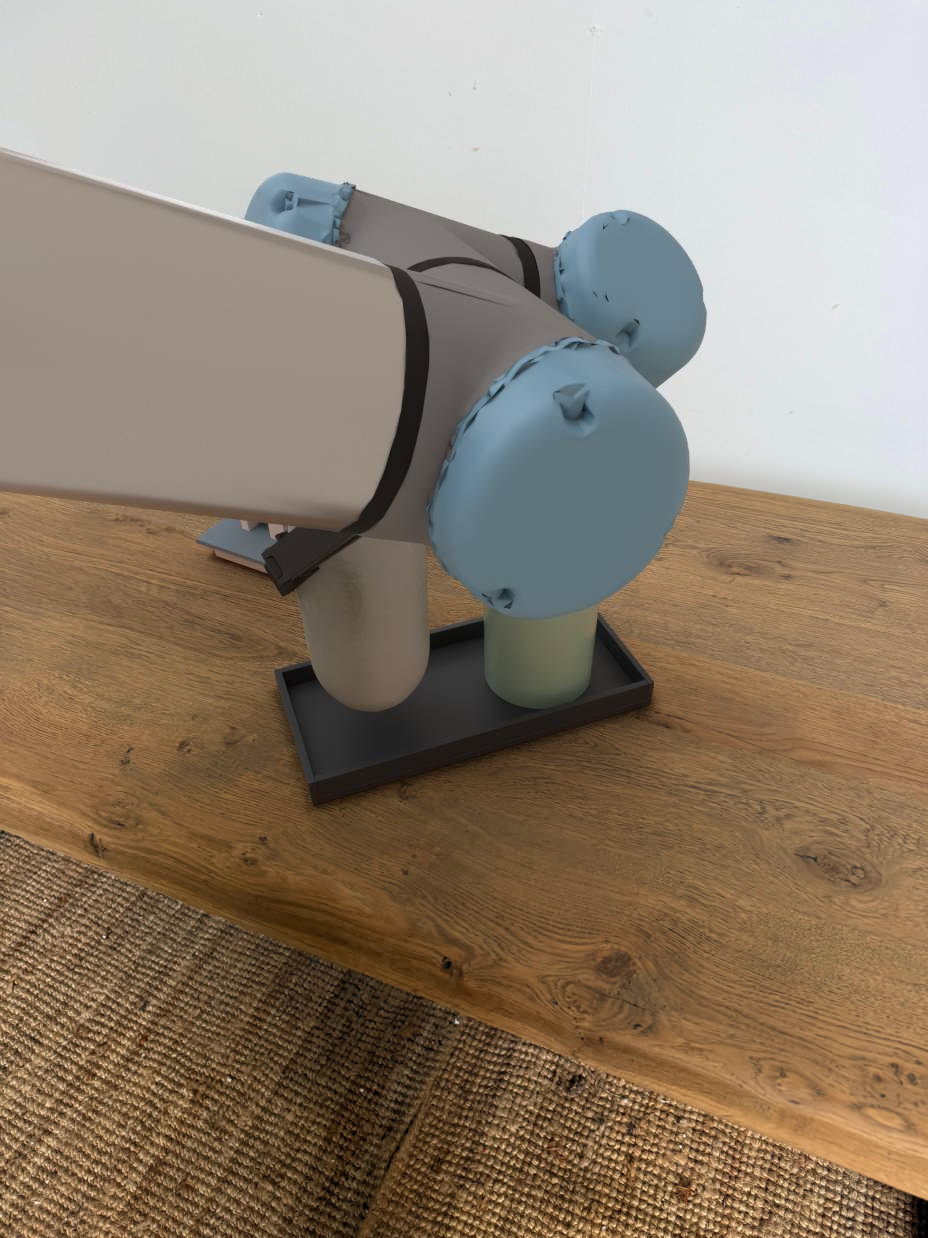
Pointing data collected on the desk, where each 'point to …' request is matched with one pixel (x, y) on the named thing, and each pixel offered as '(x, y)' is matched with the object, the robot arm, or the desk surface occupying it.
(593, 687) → the tray
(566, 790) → the desk surface
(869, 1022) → the desk surface
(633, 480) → the robot arm
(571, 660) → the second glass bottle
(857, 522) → the desk surface
